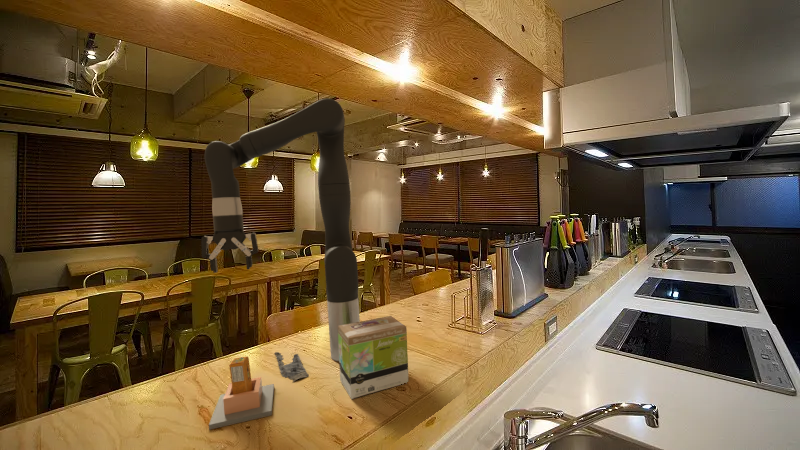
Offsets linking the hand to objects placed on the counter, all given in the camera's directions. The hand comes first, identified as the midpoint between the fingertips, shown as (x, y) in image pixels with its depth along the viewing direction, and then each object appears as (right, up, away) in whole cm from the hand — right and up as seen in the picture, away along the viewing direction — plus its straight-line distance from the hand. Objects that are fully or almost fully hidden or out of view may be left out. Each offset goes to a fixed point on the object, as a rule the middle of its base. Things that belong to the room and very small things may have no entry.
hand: (232, 270), depth 95 cm
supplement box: (+12, -28, -19) cm, 36 cm away
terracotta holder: (+13, -27, -19) cm, 36 cm away
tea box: (+42, -27, -12) cm, 51 cm away
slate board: (+13, -28, -19) cm, 37 cm away
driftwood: (+17, -28, 0) cm, 33 cm away
